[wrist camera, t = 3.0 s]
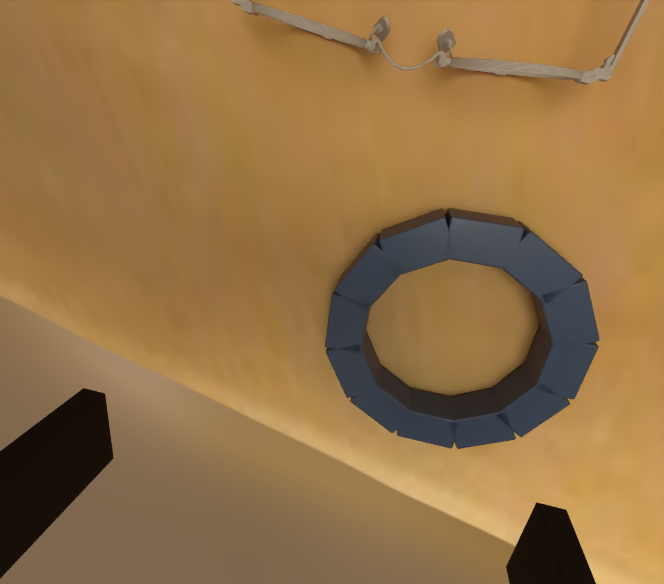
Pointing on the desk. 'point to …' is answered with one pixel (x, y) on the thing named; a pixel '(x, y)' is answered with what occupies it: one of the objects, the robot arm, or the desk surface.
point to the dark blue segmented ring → (481, 406)
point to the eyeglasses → (448, 42)
